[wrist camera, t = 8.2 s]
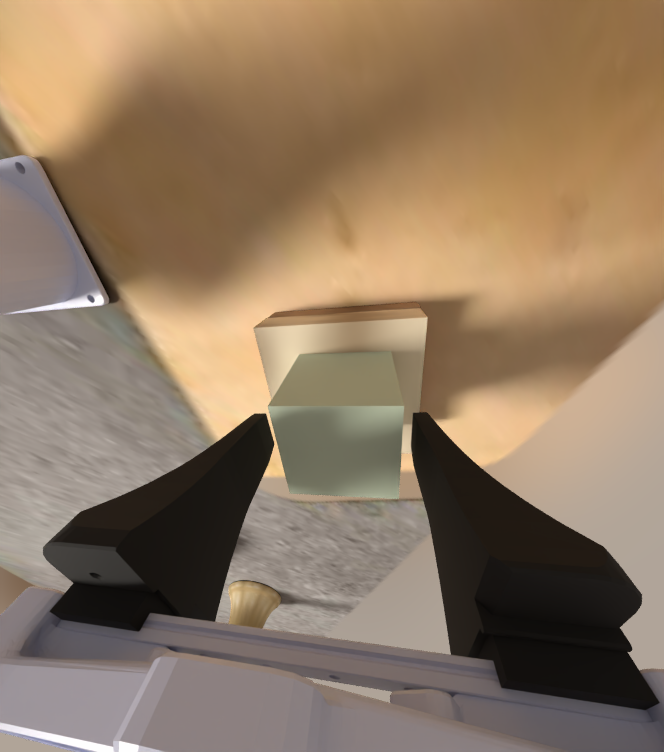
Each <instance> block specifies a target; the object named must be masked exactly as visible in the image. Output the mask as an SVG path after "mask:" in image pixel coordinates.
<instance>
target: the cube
mask: <svg viewBox="0 0 664 752" xmlns="http://www.w3.org/2000/svg"><path fill="white" fill-rule="evenodd" d="M268 409H269V413H270V417H271V421H272V425H273V429H274V433H275V437H276V440H277V444H278V448H279V452H280V456H281V460H282V464H283V468H284V472H285V476H286V480H287V483H288V487H289V492H290V493H293V494H311V495H330V496H331V495H332V496H351V497H370V498H389V499H399V485H400V468H401V451H402V434H403V417H404V403H403V399H402V395H401V391H400V386H399V382H398V378H397V374H396V370H395V366H394V361H393V357H392V353H391V351H382V352H352V353H324V354H299V355H298V357H297V359H296V360H295V362H294V364H293V365H292V367H291V369H290V370H289V372H288V374H287V375H286V377H285V379H284V380H283V382H282V384H281V385H280V387H279V389H278V390H277V392H276V394H275V395H274V397H273V399H272V400H271V402H270V404H269V405H268Z"/></svg>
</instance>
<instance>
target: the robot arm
mask: <svg viewBox="0 0 664 752" xmlns="http://www.w3.org/2000/svg"><path fill="white" fill-rule="evenodd" d="M93 297H94V298H93ZM108 303H109V298H108V295H107V293H106V291H105V289H104V287H103V285H102V284H101V282H100V280H99V278H98V276H97V274H96V272H95V270H94V268H93V266H92V264H91V262H90V260H89V258H88V256H87V254H86V252H85V250H84V248H83V246H82V244H81V242H80V240H79V238H78V236H77V234H76V232H75V230H74V228H73V226H72V225H71V223H70V221H69V219H68V217H67V215H66V213H65V211H64V209H63V207H62V205H61V203H60V201H59V199H58V197H57V195H56V193H55V191H54V189H53V187H52V185H51V183H50V181H49V179H48V177H47V175H46V173H45V171H44V169H43V167H42V166H41V164H40V163H39V162H38V161H37V160H36V159H35V158H33V157H30V156H26V155H20V156H16V157H11V158H6V159H2V160H0V315H1V314H15V313H26V312H37V311H47V310H58V309H69V308H80V307H91V306H102V305H106V304H108ZM273 447H274V441H273V437H272V434H271V430H270V427H269V423H268V419H267V416H266V414H254V415H252V416H251V417H249V418H248V419H246V420H245V421H244V422H243V423H241V424H240V425H239V426H237V427H236V428H235V429H233V430H232V431H231V432H230V433H228V434H227V435H226V436H224V437H223V438H222V439H220V440H219V441H218V442H216V443H215V444H213V445H212V446H210V447H209V448H208V449H206V450H205V451H203V452H202V453H200V454H199V455H197V456H196V457H194V458H193V459H191V460H190V461H188V462H186V463H185V464H183V465H181V466H180V467H178V468H176V469H174V470H172V471H171V472H169V473H167V474H165V475H163V476H161V477H159V478H157V479H156V480H154V481H152V482H150V483H148V484H146V485H143V486H141V487H139V488H137V489H135V490H133V491H131V492H128V493H126V494H124V495H122V496H119V497H117V498H114V499H112V500H109V501H107V502H104V503H102V504H99V505H97V506H94V507H92V508H89V509H87V510H84V511H81V512H80V513H79V514H77V515H76V516H75V517H74V518H73V519H72V520H71V521H70V522H69V523H68V524H67V525H66V526H65V527H64V528H63V529H62V530H61V531H60V532H58V533H57V534H56V535H55V536H54V537H53V538H52V539H51V540H50V541H49V542H48V543H47V544H46V545H45V546H44V547H43V555H44V556H45V558H46V560H47V561H48V562H49V563H50V564H51V565H53V566H54V567H55V568H56V569H57V570H59V571H60V572H61V573H62V574H63V575H65V576H66V577H67V578H68V579H69V580H71V581H72V582H73V585H72V586H71V587H70V588H69V589H68V590H67V592H66V593H64V592H61V591H59V590H55V589H48V588H41V587H28V588H27V589H26V590H25V591H24V592H23V593H22V594H21V595H20V596H19V597H18V598H17V599H16V600H15V601H14V602H13V603H12V604H11V605H10V606H9V607H8V608H7V609H6V610H5V611H4V612H3V613H2V614H1V615H0V732H1V733H5V734H9V735H13V736H17V737H21V738H24V739H28V740H32V741H36V742H40V743H43V744H47V745H51V746H55V747H59V748H62V749H66V750H70V751H74V752H664V669H644V670H640V671H639V670H638V668H637V666H636V665H635V663H634V662H633V660H632V659H631V657H630V656H629V654H628V652H631V651H632V647H631V644H630V643H629V641H628V640H627V638H626V636H625V635H624V633H623V632H622V631H621V629H620V627H621V626H622V625H623V624H624V623H625V622H626V621H627V620H628V619H629V618H631V617H632V616H633V615H634V614H635V613H636V612H637V611H638V609H639V608H640V606H641V604H642V594H641V593H640V591H639V590H638V589H637V588H636V586H635V585H634V584H633V582H632V581H631V580H630V578H629V577H628V576H627V574H626V573H625V572H624V570H623V569H622V568H621V567H620V565H619V564H618V563H617V562H616V561H615V559H614V558H613V557H612V556H611V555H610V553H609V552H608V551H607V550H606V549H605V548H604V547H603V546H601V545H599V544H598V543H596V542H594V541H592V540H591V539H589V538H587V537H585V536H583V535H582V534H580V533H578V532H576V531H574V530H573V529H571V528H569V527H567V526H565V525H564V524H562V523H560V522H558V521H557V520H555V519H553V518H552V517H550V516H549V515H547V514H545V513H544V512H542V511H541V510H539V509H537V508H535V507H534V506H533V505H531V504H529V503H528V502H526V501H525V500H523V499H522V498H520V497H519V496H518V495H516V494H515V493H513V492H512V491H511V490H509V489H508V488H506V487H504V486H503V485H502V484H501V483H499V482H498V481H497V480H495V479H494V478H493V477H491V476H490V475H489V474H488V473H486V472H485V471H484V470H483V469H482V468H480V467H479V466H478V465H477V464H476V463H475V462H474V461H472V460H471V459H470V458H469V457H468V456H467V455H466V454H465V453H464V452H463V451H462V450H461V449H460V448H459V447H458V446H457V445H456V444H455V443H454V442H453V441H452V440H451V439H450V438H449V437H448V436H447V435H446V434H445V433H444V432H443V430H442V429H441V428H440V427H439V426H438V425H437V424H436V422H435V421H434V420H433V419H432V418H431V416H430V415H429V414H428V413H427V412H419V413H413V419H412V434H411V451H412V457H413V463H414V468H415V472H416V475H417V479H418V483H419V486H420V490H421V493H422V497H423V501H424V504H425V508H426V511H427V515H428V519H429V523H430V528H431V534H432V539H433V545H434V550H435V556H436V562H437V568H438V573H439V579H440V585H441V592H442V598H443V604H444V611H445V617H446V624H447V631H448V637H449V644H450V651H451V655H448V654H441V653H434V652H427V651H420V650H413V649H405V648H398V647H391V646H383V645H377V644H370V643H362V642H355V641H348V640H340V639H333V638H327V637H320V636H312V635H305V634H298V633H291V632H284V631H277V630H269V629H262V628H255V627H248V626H241V625H234V624H226V623H219V622H215V619H216V615H217V611H218V607H219V603H220V599H221V595H222V591H223V587H224V584H225V580H226V576H227V573H228V569H229V566H230V562H231V559H232V556H233V552H234V549H235V546H236V543H237V540H238V536H239V533H240V530H241V528H242V525H243V522H244V519H245V516H246V513H247V511H248V508H249V506H250V503H251V501H252V499H253V497H254V495H255V492H256V490H257V488H258V486H259V483H260V481H261V479H262V477H263V475H264V472H265V470H266V468H267V466H268V463H269V461H270V457H271V454H272V451H273ZM305 677H309V678H315V679H320V680H326V681H332V682H339V683H344V684H350V685H356V686H362V687H368V688H374V689H380V690H386V691H392V693H391V695H390V702H391V703H388V702H384V701H381V700H377V699H373V698H370V697H366V696H362V695H358V694H355V693H351V692H347V691H344V690H340V689H336V688H332V687H329V686H325V685H320V684H317V683H314V682H313V681H312V680H310V679H307V678H305Z"/></svg>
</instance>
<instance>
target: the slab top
mask: <svg viewBox="0 0 664 752" xmlns="http://www.w3.org/2000/svg"><path fill="white" fill-rule="evenodd" d="M427 319H428V317H427V316H426V315H425V314H424V312H423V311H422V310H421V309H420V308H411V309H396V310H381V311H366V312H351V313H336V314H321V315H306V316H291V317H276V318H266V319H265V320H263V321H262V322H261V323H259V324H258V325H257V326H255V327H254V332H255V336H256V340H257V344H258V348H259V352H260V356H261V360H262V364H263V368H264V372H265V376H266V380H267V384H268V388H269V392H270V396H271V400H272V399H273V397H274V395H275V394H276V392H277V390H278V389H279V387H280V385H281V384H282V382H283V380H284V379H285V377H286V375H287V374H288V372H289V370H290V369H291V367H292V365H293V364H294V362H295V360H296V359H297V357H298V355H299V354H324V353H352V352H382V351H391V353H392V357H393V361H394V366H395V370H396V374H397V378H398V382H399V386H400V391H401V395H402V399H403V403H404V417H403V434H402V451H401V453H406V454H412V451H411V434H412V419H413V413H419V412H420V401H421V389H422V377H423V366H424V354H425V342H426V331H427Z"/></svg>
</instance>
